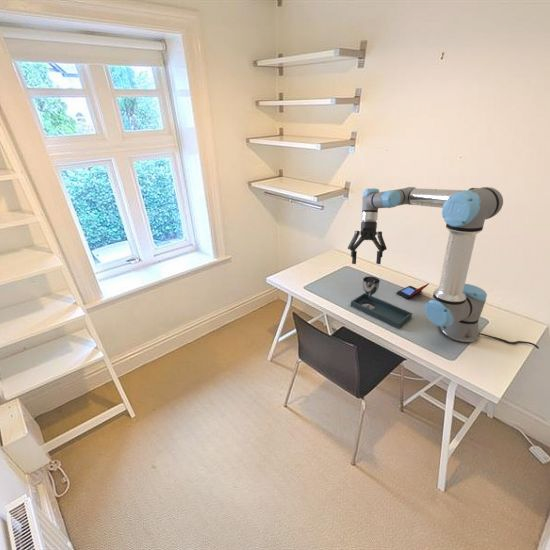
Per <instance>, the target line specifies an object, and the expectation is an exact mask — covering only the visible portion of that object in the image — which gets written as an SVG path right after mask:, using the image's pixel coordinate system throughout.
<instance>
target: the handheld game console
mask: <svg viewBox="0 0 550 550" xmlns="http://www.w3.org/2000/svg"><path fill="white" fill-rule="evenodd" d="M429 285H430V283H426V284H425V285H422V286H421V287H419V288H417V287H415V286H412V285H408V286H406V287H404V288H402V289H400V290H398V291H396V294H397V295H399V296H401V297H402V298H405V299H407V300H409V299H411V298H413V297H414V296H417V295H418V294H421V293H422V291H423V290H424V289H425V288H427V286H429Z"/></svg>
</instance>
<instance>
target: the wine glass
mask: <svg viewBox="0 0 550 550" xmlns="http://www.w3.org/2000/svg"><path fill="white" fill-rule="evenodd" d="M380 284H381V281H380V279H379V278H377V277H376V276H370V275H369V276H365V277H363V279H362V288H363V291H364V293H366V294H367V296H368V302H363V303H361V305H362V306H364V307H367V308H369V309H374V308H375V305H374V304H373V303H370V302H369V300H370V297H371V296H373V295H375V294H376V293H377V292H378V290H379V287H380Z"/></svg>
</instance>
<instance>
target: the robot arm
mask: <svg viewBox="0 0 550 550" xmlns="http://www.w3.org/2000/svg"><path fill="white" fill-rule="evenodd" d="M403 205H404V206H405V205H409V206H420V207H431V208H441V217H442V218H443V219H444V220H443V221H444V222H445V224H446V225H445V228H446V229H447V230H448V238H447V243H446V247H445V254H444V258H443V263H442V269H441V274H440V280H439V285H438V287H437V288H435V289H434V290H433V294H432V299H430V300H428V301H427V302H426V303H425V306H424V312H425V315H426V317H427V318H428V320H429V321H430V322H431V323H432V324H433V325H435V326H437V327H439V330H440V332H441V334H443V335H444V336H445V337H446V338H448V339H450V340H452V341H455V342H458V343H463V344H464V343H465V344H471V343H474V342H476V341H477V340H478V339H479V336H483V337H487V338H492V339H495V340H499V341H502V342H504V343H506V344H511V345H515V344H527V345H531V346H533V347H535V348H536V349H540V347H539V346H538V345H537V344H535V343H533V342H529V341H522V340H516V341H509V340H506V339H503V338H500V337H496V336H492V335H489V334H485V333H483V332H482V333H481V332H480V328H479V320H480V317H481V315H482V312H483V309H484V307H485V304H486V302H487V297H488V294H487V292H486V291H485V290H484V289H483V288H481V287H479V286H476V285H474V284H470V283H466V281H467V276H468V273H469V268H470V263H471V259H472V255H473V252H474V251H473V250H474V246H475V241H476V238H477V235H478V234H479V233H481V232H482V231H483V229H484V225H485V221H487V220H489V219H492V218H494V217H495V216H496V215H498V214H499V213H500V211H501V210H502V208H503V205H504V198H503V195H502V193H501V192H500V191H499V190H498V189H496V188H494V187H490V186H484V187H470V188H468V189H445V188H444V189H443V188H417V187H415V186H408V187H404V188H398V189H391V190H385V191H380V189H379V188H366V189H363V194H362V205H361V208H362V209H361V223H360V231H359V230H355V231H354V234H353V237H352V239H351V240H350V243H349V244H348V246H347V250H350V258H351V264H353V265H357V253H358V252H357V249H358V248H359V247H360V245H361V244H362V243H363V242H364V241H372V242H373V245H374V246H375V247H376V248H377V251H376V265H381V262H382V258H383V253H384V252H385V251H387V249H388V248H387V245H386V242H385V240H384V237H383V232H382V231H381V230H379V231H377V230H378V229H377V228H378V213H379V209H393V208H396V207H399V206H403ZM359 236H360V237H359ZM376 236H377V237H376Z"/></svg>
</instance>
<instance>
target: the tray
mask: <svg viewBox="0 0 550 550" xmlns="http://www.w3.org/2000/svg"><path fill="white" fill-rule="evenodd" d="M363 302H368V296H367V294H366V293H365V292H364V293H362V294H360V295H359V296H357V297H356V298H354V299H352V300H351V301H350V307H352V308H354V309H356V310H358V311H360V312H363V313H365V314H366V315H369V316H370V317H373V318H375V319H377V320H379V321H381V322H383V323H385V324H388V325H390V326H391V327H394V328H396V329H400V328H401V327H403V326H404V325H405V324H406V323H407V322H409V320H411V319H412V316H413V313H412V312H410V311H408V310H406V309H403V308H401V307H398V306H396V305H394V304H392V303H389V302H387V301H385V300H382V299H380V298H378V297H375V296H373V295H371V297H370V300H369V302H370V303H373V304H374V305H375V308H374V309H369V308H367V307H364V306H362V305H361V303H363Z"/></svg>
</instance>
